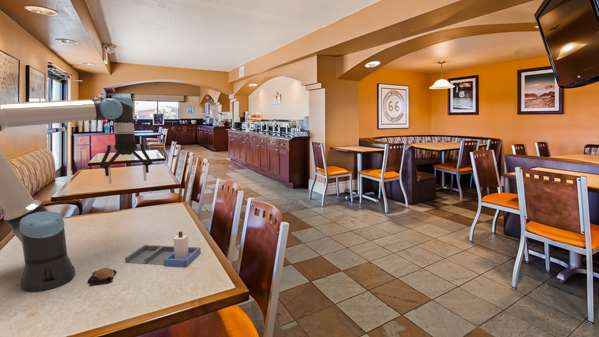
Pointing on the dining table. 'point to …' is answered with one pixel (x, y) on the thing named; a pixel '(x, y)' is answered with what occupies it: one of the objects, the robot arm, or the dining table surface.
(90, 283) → the bun on dark wrapper
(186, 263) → the gray divided tray
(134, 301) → the dining table surface
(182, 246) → the cream block with knob
